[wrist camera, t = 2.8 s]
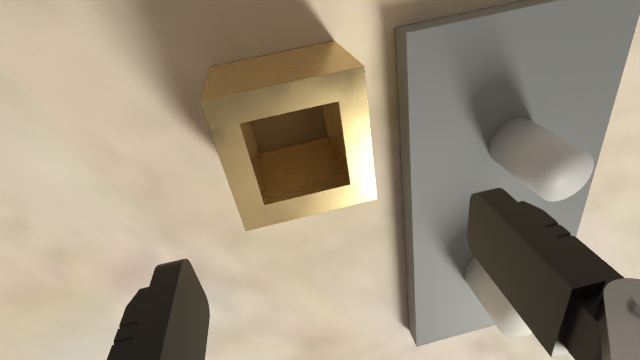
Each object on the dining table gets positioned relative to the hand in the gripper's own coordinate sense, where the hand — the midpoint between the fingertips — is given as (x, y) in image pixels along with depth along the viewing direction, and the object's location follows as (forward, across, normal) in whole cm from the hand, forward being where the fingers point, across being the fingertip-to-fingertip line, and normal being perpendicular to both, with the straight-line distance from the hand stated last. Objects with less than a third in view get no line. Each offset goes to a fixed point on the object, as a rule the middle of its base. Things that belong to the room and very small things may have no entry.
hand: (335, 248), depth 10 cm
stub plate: (+11, -12, +8) cm, 18 cm away
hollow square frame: (+10, 0, 0) cm, 10 cm away
